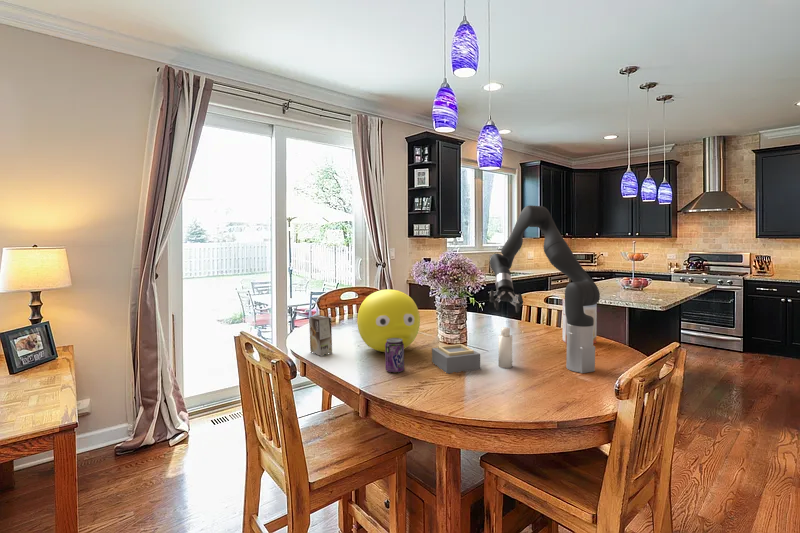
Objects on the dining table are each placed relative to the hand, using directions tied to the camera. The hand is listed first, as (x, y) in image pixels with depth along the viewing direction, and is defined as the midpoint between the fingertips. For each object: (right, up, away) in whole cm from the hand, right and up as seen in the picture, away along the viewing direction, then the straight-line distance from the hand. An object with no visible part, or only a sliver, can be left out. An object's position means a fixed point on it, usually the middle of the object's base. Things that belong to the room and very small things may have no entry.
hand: (507, 310), depth 182 cm
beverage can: (-48, -21, -21) cm, 57 cm away
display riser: (-25, -20, -16) cm, 36 cm away
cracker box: (+38, -17, +18) cm, 45 cm away
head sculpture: (-51, -19, +7) cm, 55 cm away
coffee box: (-81, -20, +5) cm, 84 cm away
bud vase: (-5, -20, -17) cm, 27 cm away
